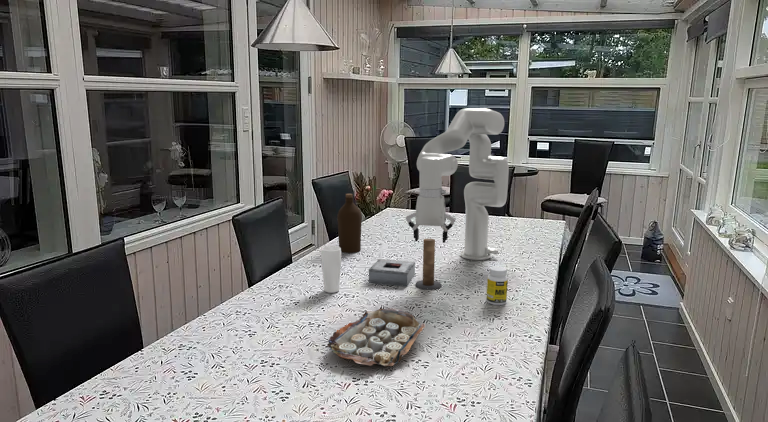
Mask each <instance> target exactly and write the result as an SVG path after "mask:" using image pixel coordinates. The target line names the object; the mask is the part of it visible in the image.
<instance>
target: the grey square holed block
mask: <svg viewBox="0 0 768 422" xmlns="http://www.w3.org/2000/svg"><path fill="white" fill-rule="evenodd" d="M415 275H416V261H410V260H409V261H408V260H397V259H396V260H395V259H387V258H386V259H384V258H379V259H377V260H376V262H374V263H373V264H372V266H371V267H370V268H369V269H368V284H372V285H373V284H375V285H385V286H397V287H408V286H409V284H410V283H411V281H412V280H413V278H414V277H415Z"/></svg>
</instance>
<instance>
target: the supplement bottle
mask: <svg viewBox="0 0 768 422" xmlns="http://www.w3.org/2000/svg"><path fill="white" fill-rule="evenodd" d="M507 271H508V270H507V268H506V267H504V266H498V265H497V266H496V265H494V266H490V267H489V273H488V276H487V280H486V281H487V283H486V296H485V297H486V298H485V299H486V302H487V303H488V304H491V305H494V306H502V305H506V304H507V301H508V300H507V298H508V297H507V296H508V283H509V282H508V281H509V279H508V276H507Z"/></svg>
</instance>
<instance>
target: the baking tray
mask: <svg viewBox="0 0 768 422" xmlns="http://www.w3.org/2000/svg"><path fill="white" fill-rule="evenodd" d="M425 327H426V324H425V323H421V324H420V323H419V322H418V321H417V320H416V319H415V317H414V315H413V314H412V313H410V312H408V311H405V310H402V309H398V308H393V307H391V308H390V307H388V308H382V307H381V308H379V309H376V310H374V311H373V310H370V311H364V313H363V314H362V316H361V317H360V318H359V320H358V319H357V320H356V321H354V322H348V324H346V325H344V326H342V327H340V328H339V329H337V330H336V331H334V332H333V333H332V335H331V336H330V337H329V339H328V343H327V344H326V347H327V348H328V349H329V350H330V351H331V352H332V353H334V354H336V356H337V357H340V358H342V359H345V360H346V359H347V360H352V361H354V363H356V364H360V365H366V366H373V365H374V366H377V365H380V366H383V367H385V368H389V367H393V366H394V365H396V364H397V363H399V362H400V361H401V360H402V358H403V356H405V355H406V354H407V353H408V352H410V351H409V350H411V347H412V345H414V343H415V342H416V341H417V340H416V339H417V338H418V336H419V334H421V332H423V329H425ZM384 344H386V345H385V348H384V349H385V350H384V351H382V350H383V347H384ZM365 346H367V347H365ZM357 348H358V349H357ZM374 352H376V353H374Z"/></svg>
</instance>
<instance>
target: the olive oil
mask: <svg viewBox="0 0 768 422" xmlns="http://www.w3.org/2000/svg"><path fill="white" fill-rule="evenodd" d="M344 199H345V203H344V204H343V205H341V207H340V209H339V210H338V212H337V216H336V221H337V231H338V233H337V235H338V247H340V248H341V253H344V254H354V253H359V252H360V251H361V249H362V248H361V246H362V245H361V244H362V242H361V241H362V223H363V222H362V221H363V217H362V211H361V210H360V208H359V207H358V206H357V205H356V203H354V194H353V193H345V198H344Z"/></svg>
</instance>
